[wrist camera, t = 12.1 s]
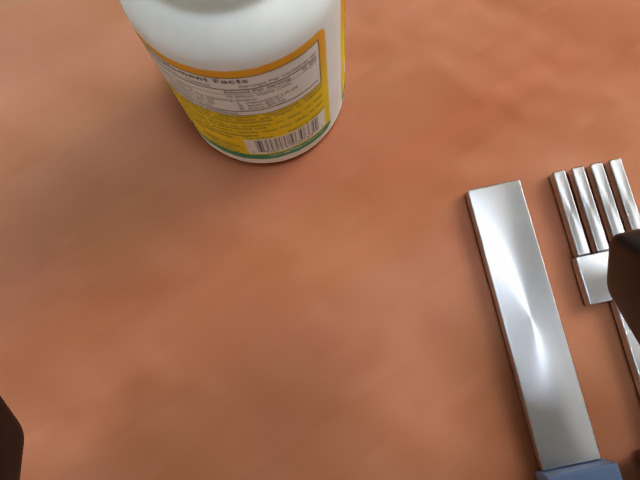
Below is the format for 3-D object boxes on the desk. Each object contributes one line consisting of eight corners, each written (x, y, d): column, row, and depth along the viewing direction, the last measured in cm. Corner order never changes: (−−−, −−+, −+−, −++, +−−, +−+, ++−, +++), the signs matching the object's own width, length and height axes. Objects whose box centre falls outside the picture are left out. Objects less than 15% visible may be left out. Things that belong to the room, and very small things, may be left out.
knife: (669, 687, 16) (692, 710, 15) (596, 703, 16) (614, 727, 15) (521, 181, 19) (531, 170, 18) (460, 194, 19) (466, 184, 18)
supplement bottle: (299, 194, 20) (256, 36, 10) (158, 125, 20) (-5, -82, 11) (373, 57, 20) (396, -205, 11) (235, -5, 21) (147, -300, 12)
